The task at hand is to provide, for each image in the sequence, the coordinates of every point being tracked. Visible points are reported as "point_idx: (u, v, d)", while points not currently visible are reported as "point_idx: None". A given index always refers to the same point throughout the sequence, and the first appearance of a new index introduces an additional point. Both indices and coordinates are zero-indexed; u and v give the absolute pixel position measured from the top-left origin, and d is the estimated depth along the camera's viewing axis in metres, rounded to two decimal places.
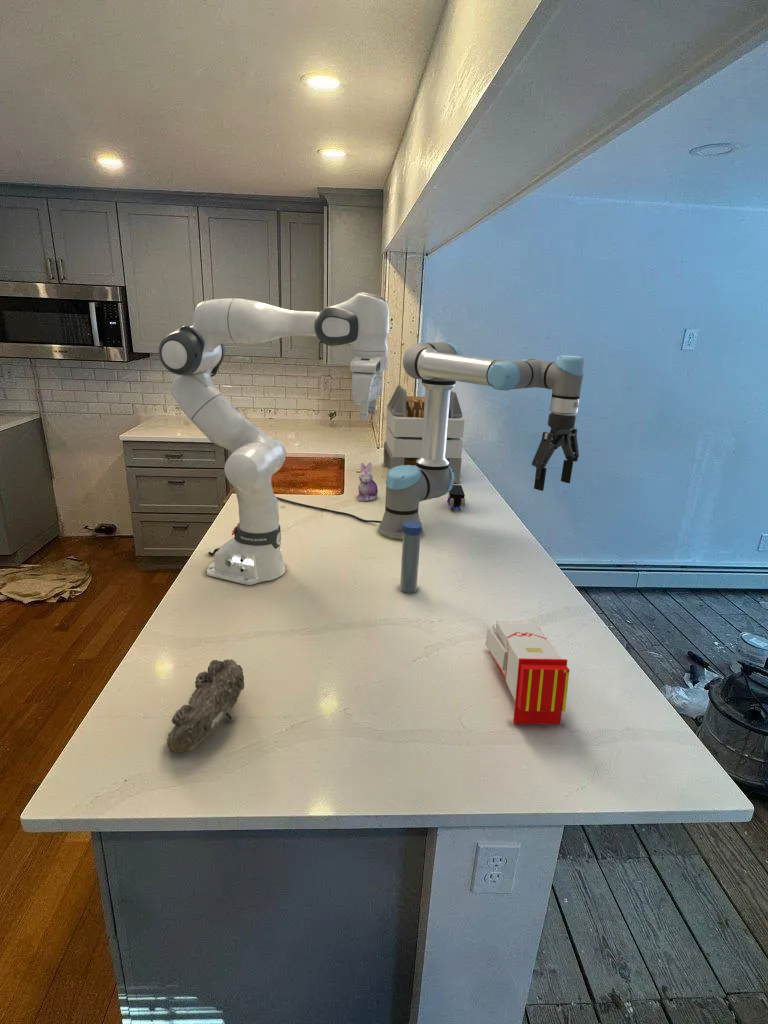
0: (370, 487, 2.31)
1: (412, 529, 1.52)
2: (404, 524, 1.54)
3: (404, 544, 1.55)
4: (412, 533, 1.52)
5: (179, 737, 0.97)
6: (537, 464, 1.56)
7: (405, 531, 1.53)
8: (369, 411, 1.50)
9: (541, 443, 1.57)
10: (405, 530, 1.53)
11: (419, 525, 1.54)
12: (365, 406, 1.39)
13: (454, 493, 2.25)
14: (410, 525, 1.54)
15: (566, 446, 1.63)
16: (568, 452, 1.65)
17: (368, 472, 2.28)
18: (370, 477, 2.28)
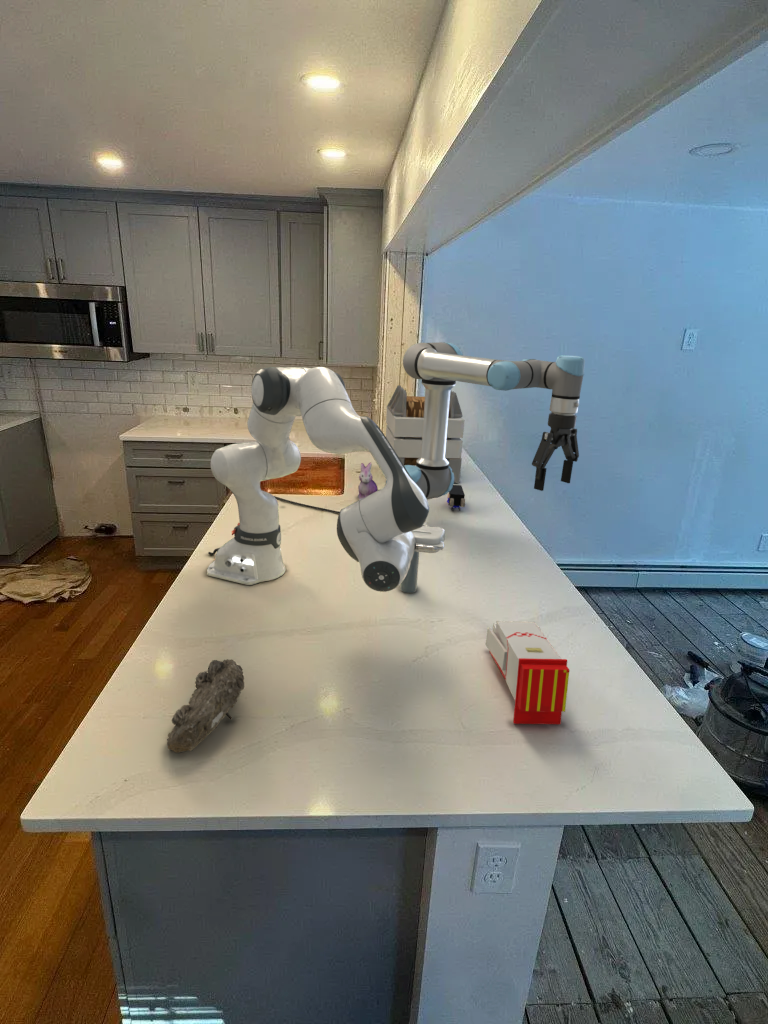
0: (370, 487, 2.31)
1: None
2: None
3: None
4: None
5: (179, 737, 0.97)
6: (537, 464, 1.56)
7: None
8: None
9: (541, 443, 1.57)
10: None
11: None
12: None
13: (454, 493, 2.25)
14: None
15: (566, 446, 1.63)
16: (568, 452, 1.65)
17: (368, 472, 2.28)
18: (370, 477, 2.28)
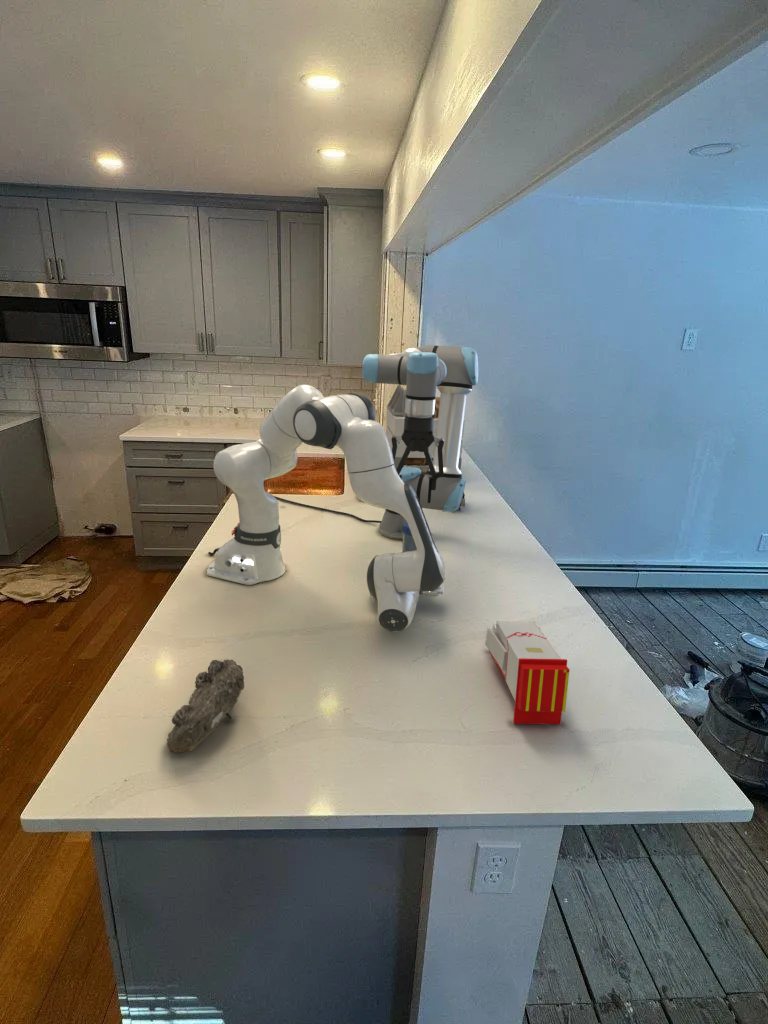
0: None
1: None
2: (404, 524, 1.54)
3: (404, 544, 1.55)
4: None
5: (179, 737, 0.97)
6: None
7: (405, 531, 1.53)
8: None
9: (442, 452, 1.46)
10: (405, 530, 1.53)
11: None
12: None
13: None
14: None
15: None
16: None
17: None
18: None
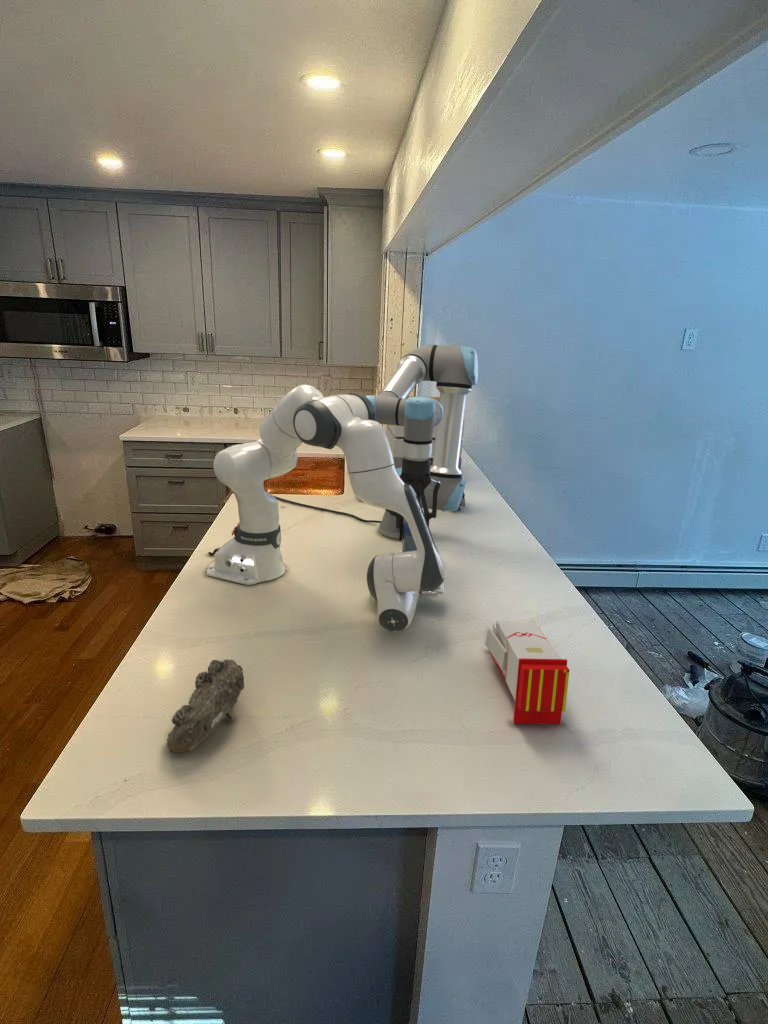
0: None
1: None
2: (404, 524, 1.54)
3: (404, 544, 1.55)
4: None
5: (179, 737, 0.97)
6: None
7: (405, 531, 1.53)
8: None
9: (437, 494, 1.50)
10: (405, 530, 1.53)
11: None
12: None
13: None
14: None
15: None
16: None
17: None
18: None
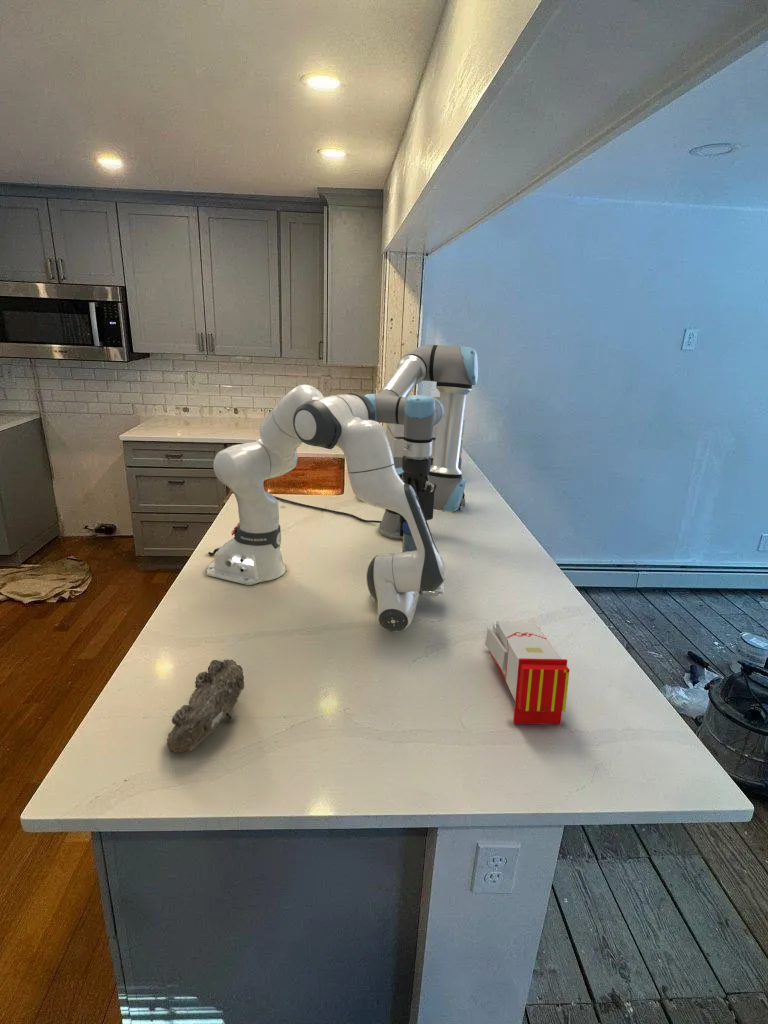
0: None
1: None
2: None
3: (404, 544, 1.55)
4: None
5: (179, 737, 0.97)
6: None
7: None
8: None
9: None
10: None
11: None
12: None
13: None
14: None
15: None
16: None
17: None
18: None
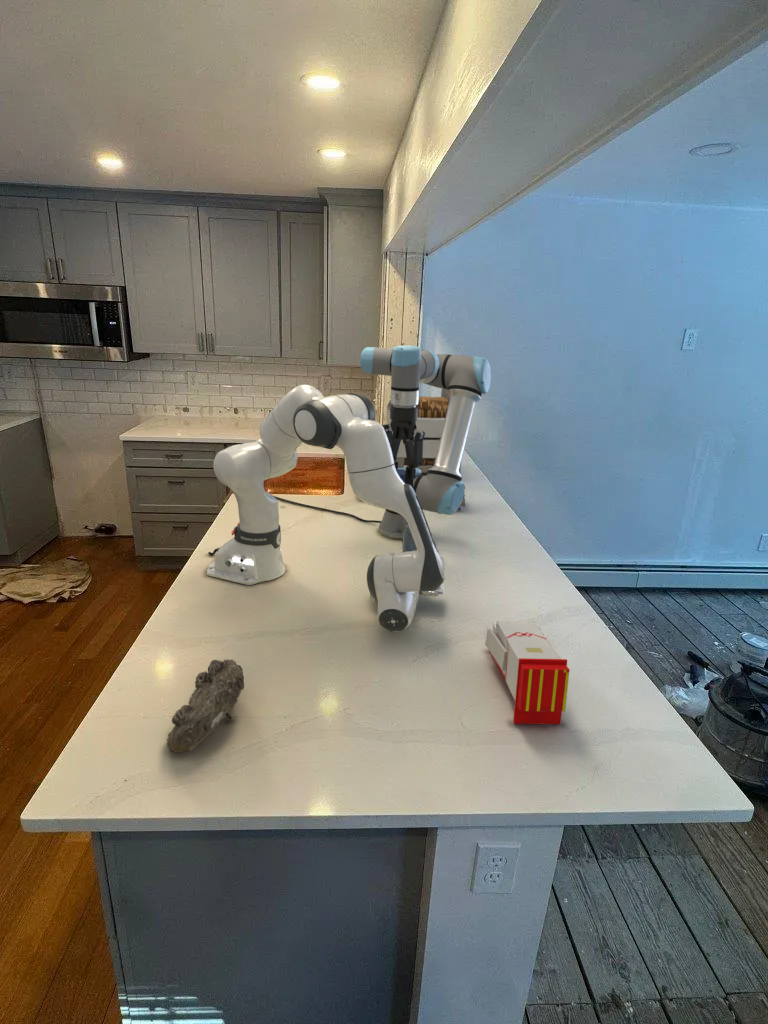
0: None
1: None
2: None
3: (404, 544, 1.55)
4: None
5: (179, 737, 0.97)
6: None
7: None
8: None
9: None
10: None
11: (397, 470, 1.61)
12: None
13: None
14: (404, 471, 1.60)
15: None
16: None
17: None
18: None
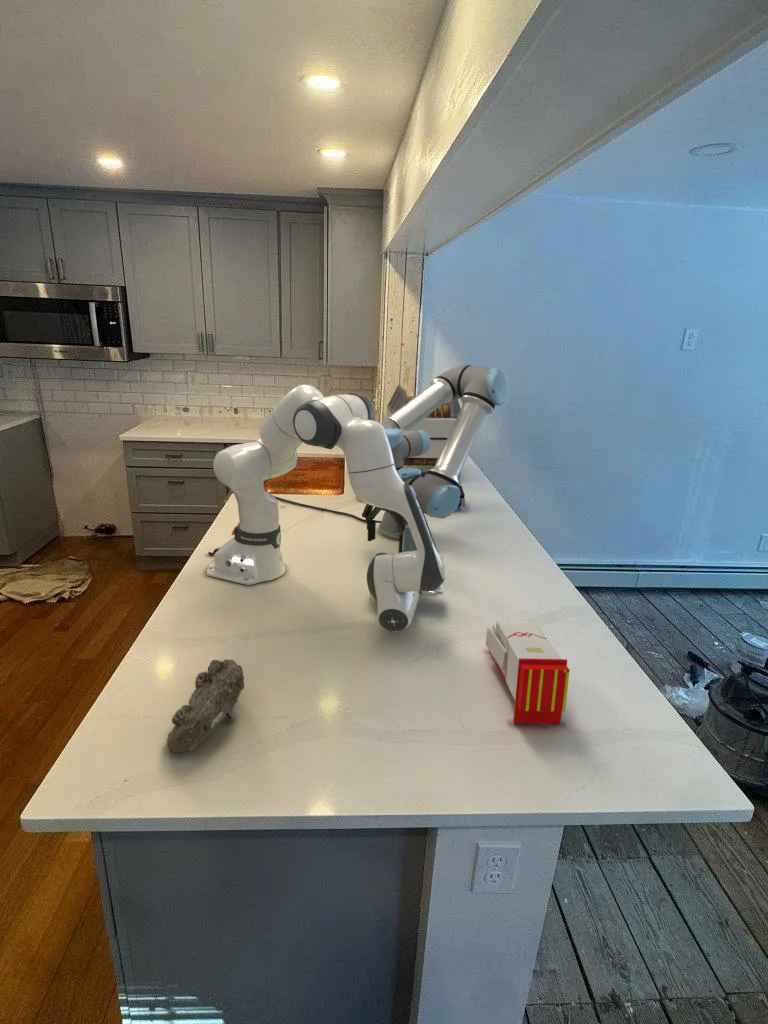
0: None
1: None
2: None
3: (404, 544, 1.55)
4: None
5: (179, 737, 0.97)
6: None
7: None
8: None
9: None
10: None
11: (379, 553, 1.78)
12: None
13: None
14: None
15: None
16: None
17: None
18: None
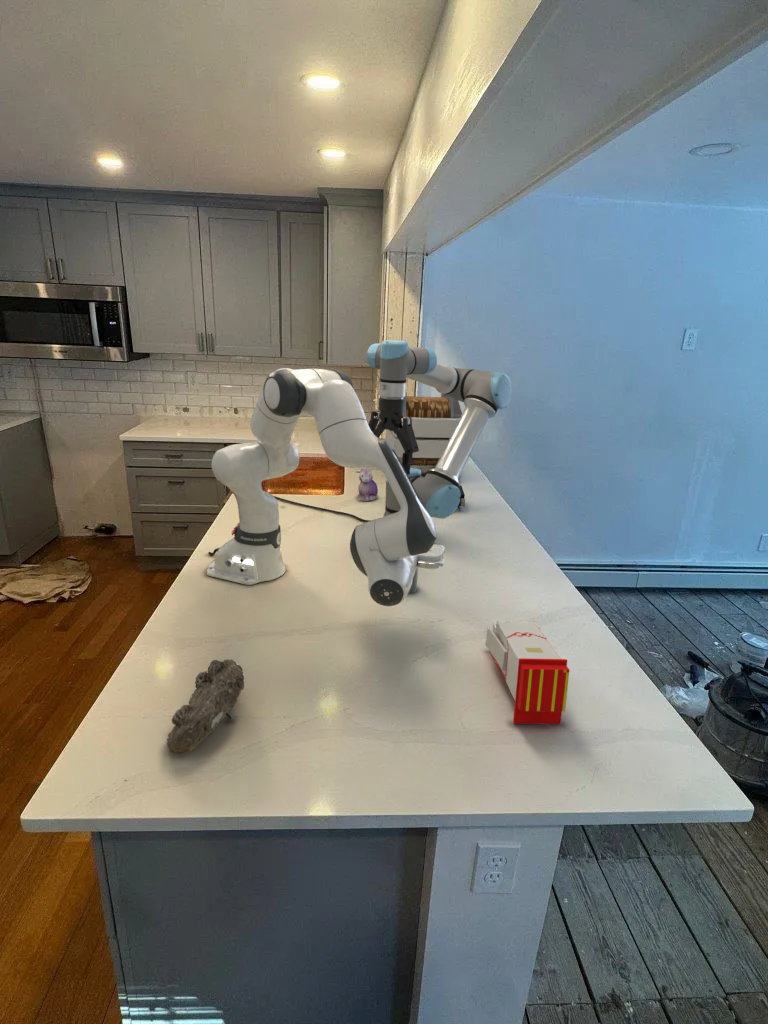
0: (370, 487, 2.31)
1: None
2: None
3: None
4: None
5: (179, 737, 0.97)
6: None
7: None
8: None
9: None
10: None
11: None
12: None
13: None
14: None
15: None
16: None
17: (368, 472, 2.28)
18: (370, 477, 2.28)
